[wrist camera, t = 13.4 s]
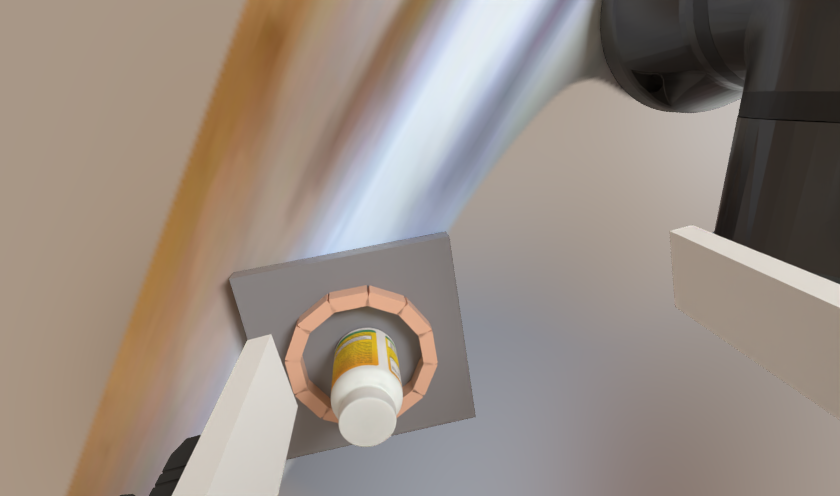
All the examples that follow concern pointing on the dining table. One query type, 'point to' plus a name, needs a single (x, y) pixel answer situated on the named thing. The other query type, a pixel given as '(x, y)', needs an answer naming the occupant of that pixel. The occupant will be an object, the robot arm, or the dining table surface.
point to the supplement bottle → (366, 387)
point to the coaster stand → (363, 308)
